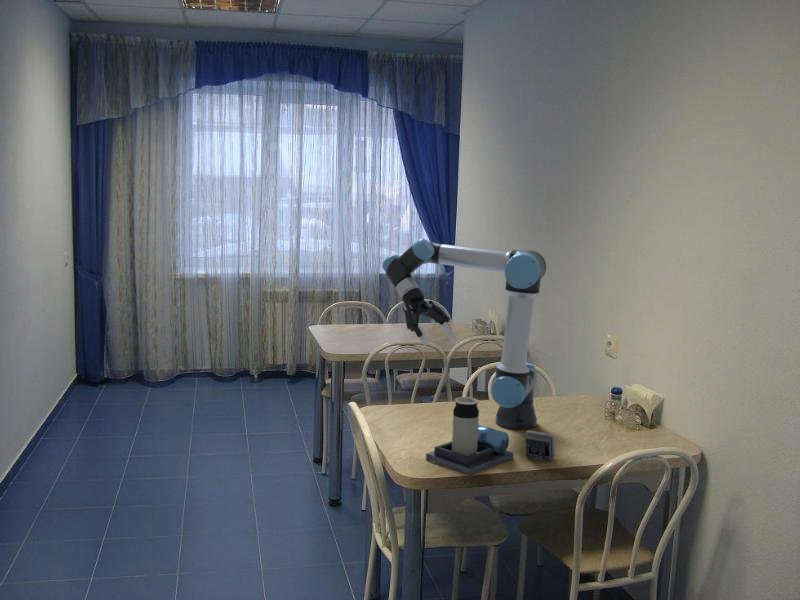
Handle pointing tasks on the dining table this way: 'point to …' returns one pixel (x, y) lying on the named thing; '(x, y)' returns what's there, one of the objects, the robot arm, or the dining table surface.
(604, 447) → the dining table surface
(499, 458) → the base
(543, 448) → the electrical switch
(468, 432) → the travel mug
